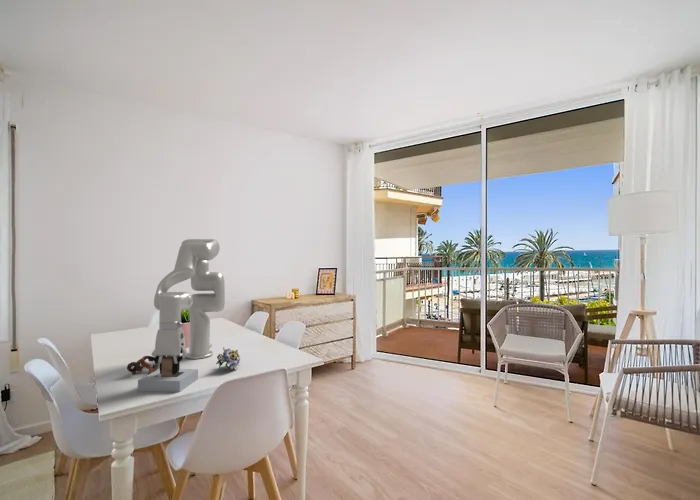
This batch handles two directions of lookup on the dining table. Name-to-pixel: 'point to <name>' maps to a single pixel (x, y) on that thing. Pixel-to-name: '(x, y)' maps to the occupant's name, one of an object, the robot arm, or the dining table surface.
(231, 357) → the passion flower
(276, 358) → the dining table surface
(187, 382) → the well block
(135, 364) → the dark brown looped piece
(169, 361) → the wood grain block
